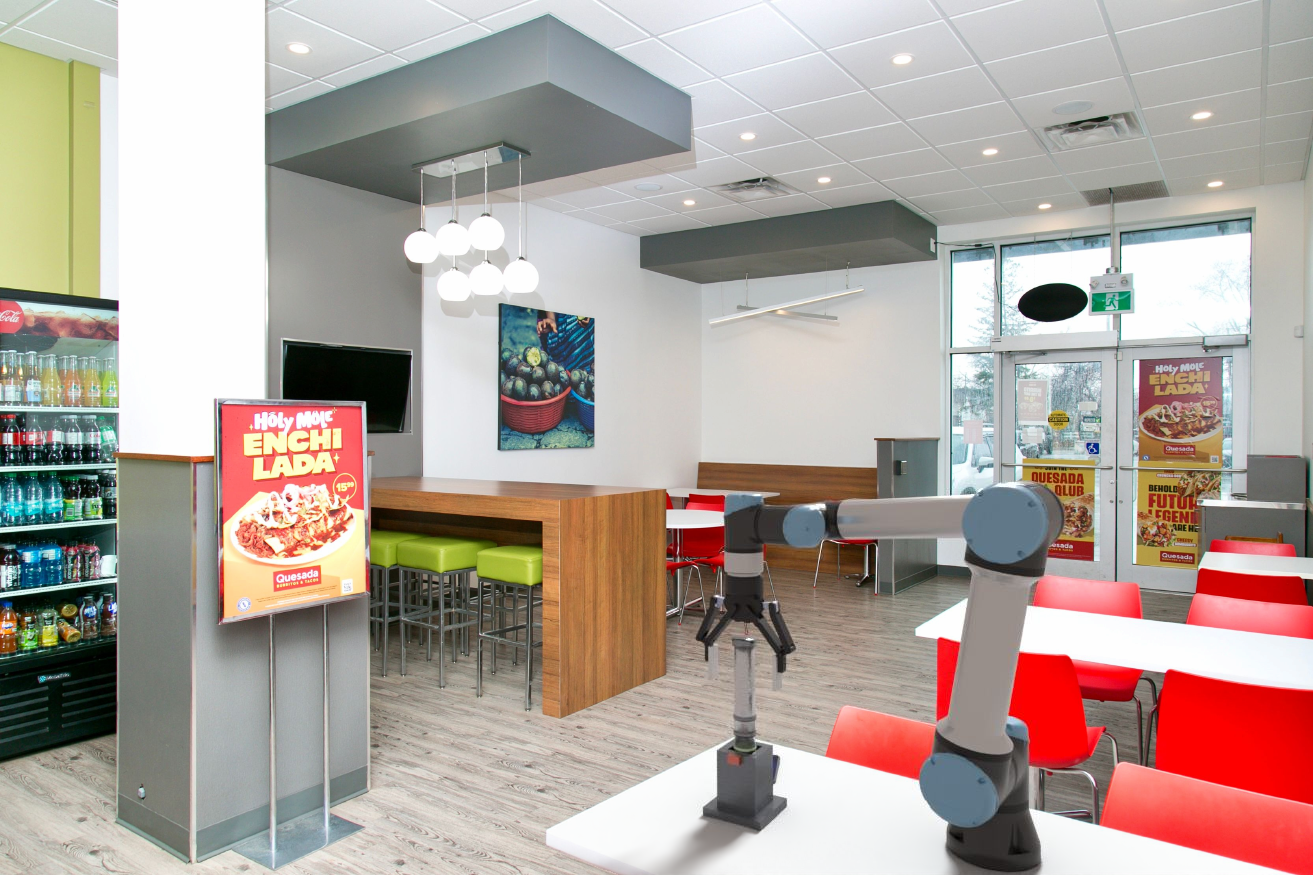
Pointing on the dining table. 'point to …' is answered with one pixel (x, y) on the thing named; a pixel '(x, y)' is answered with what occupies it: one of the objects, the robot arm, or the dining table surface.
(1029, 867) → the robot arm
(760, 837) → the dining table surface
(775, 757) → the smartphone
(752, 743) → the column
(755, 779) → the stand base
